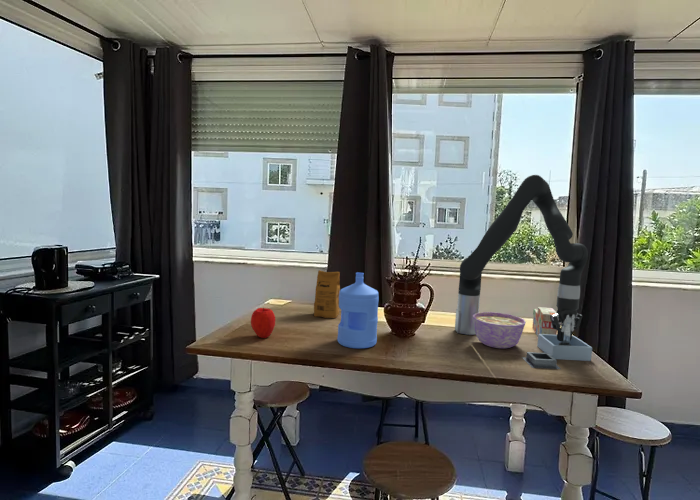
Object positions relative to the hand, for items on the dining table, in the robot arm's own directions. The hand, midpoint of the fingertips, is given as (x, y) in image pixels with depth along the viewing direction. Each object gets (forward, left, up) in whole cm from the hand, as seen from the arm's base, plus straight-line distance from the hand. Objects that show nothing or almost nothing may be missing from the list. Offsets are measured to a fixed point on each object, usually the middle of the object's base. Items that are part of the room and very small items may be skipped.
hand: (564, 340), depth 164 cm
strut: (0, -1, -3) cm, 4 cm away
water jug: (-79, +3, -6) cm, 79 cm away
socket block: (-13, -12, -6) cm, 19 cm away
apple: (-117, +4, -6) cm, 117 cm away
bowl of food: (-23, +7, -6) cm, 25 cm away
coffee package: (-95, +41, -6) cm, 104 cm away
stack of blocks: (+3, +26, -6) cm, 27 cm away
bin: (0, 0, -6) cm, 6 cm away
